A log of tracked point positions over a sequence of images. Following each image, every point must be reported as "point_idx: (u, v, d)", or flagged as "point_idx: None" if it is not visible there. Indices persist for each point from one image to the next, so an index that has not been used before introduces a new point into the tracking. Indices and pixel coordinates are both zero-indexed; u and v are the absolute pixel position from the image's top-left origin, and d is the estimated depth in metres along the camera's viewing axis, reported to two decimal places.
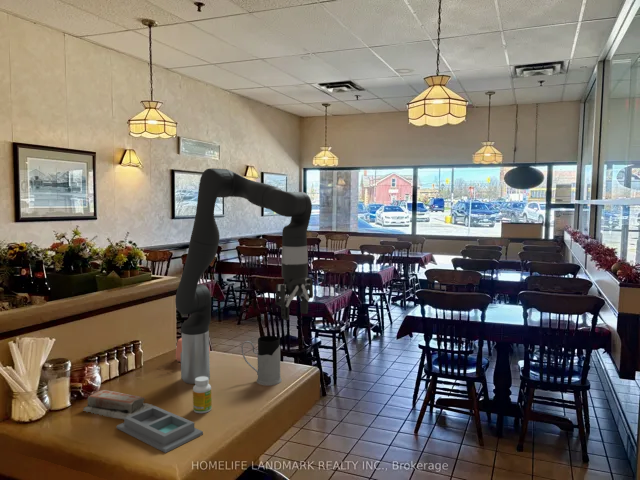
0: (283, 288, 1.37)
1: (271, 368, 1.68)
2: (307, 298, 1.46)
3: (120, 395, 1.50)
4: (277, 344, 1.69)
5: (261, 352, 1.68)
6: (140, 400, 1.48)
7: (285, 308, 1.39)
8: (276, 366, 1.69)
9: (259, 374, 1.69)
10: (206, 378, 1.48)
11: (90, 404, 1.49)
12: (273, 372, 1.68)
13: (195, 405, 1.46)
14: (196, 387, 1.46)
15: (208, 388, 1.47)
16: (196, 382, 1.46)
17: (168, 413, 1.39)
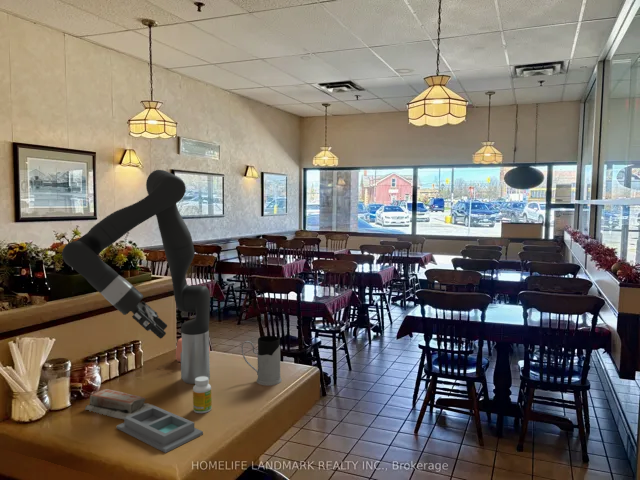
0: None
1: (271, 368, 1.68)
2: None
3: (122, 394, 1.50)
4: (277, 344, 1.69)
5: (261, 352, 1.68)
6: (140, 400, 1.48)
7: None
8: (276, 366, 1.69)
9: (259, 374, 1.69)
10: (206, 378, 1.48)
11: (92, 403, 1.49)
12: (273, 372, 1.68)
13: (195, 405, 1.46)
14: (196, 387, 1.46)
15: (208, 388, 1.47)
16: (196, 382, 1.46)
17: (168, 413, 1.39)
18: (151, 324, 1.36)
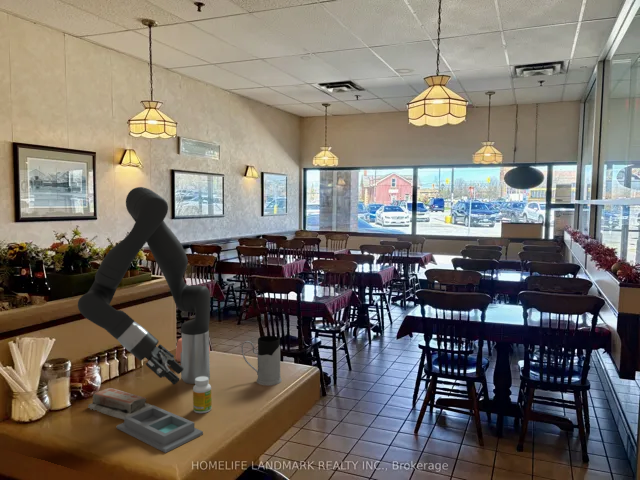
0: None
1: (271, 368, 1.68)
2: None
3: (123, 394, 1.50)
4: (277, 344, 1.69)
5: (261, 352, 1.68)
6: (141, 400, 1.47)
7: None
8: (276, 366, 1.69)
9: (259, 374, 1.69)
10: (206, 378, 1.48)
11: (95, 401, 1.50)
12: (273, 372, 1.68)
13: (195, 405, 1.46)
14: (196, 387, 1.46)
15: (208, 388, 1.47)
16: (196, 382, 1.46)
17: (168, 413, 1.39)
18: (164, 371, 1.39)
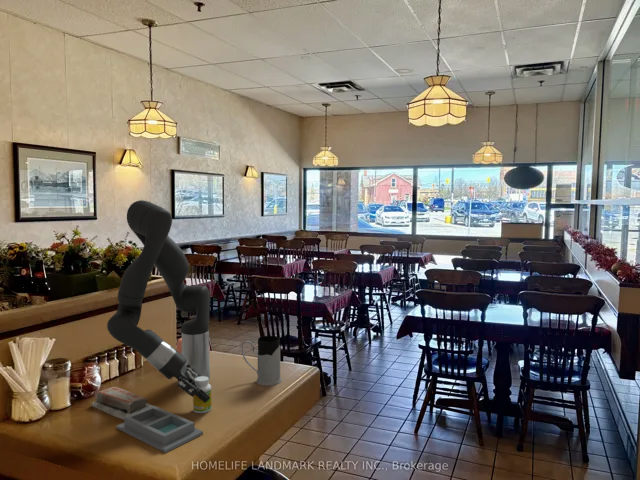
0: None
1: (271, 368, 1.68)
2: None
3: (125, 393, 1.51)
4: (277, 344, 1.69)
5: (261, 352, 1.68)
6: (141, 401, 1.47)
7: None
8: (276, 366, 1.69)
9: (259, 374, 1.69)
10: (206, 378, 1.48)
11: (98, 400, 1.52)
12: (273, 372, 1.68)
13: (195, 405, 1.46)
14: None
15: (208, 388, 1.47)
16: None
17: (168, 413, 1.39)
18: (196, 391, 1.42)
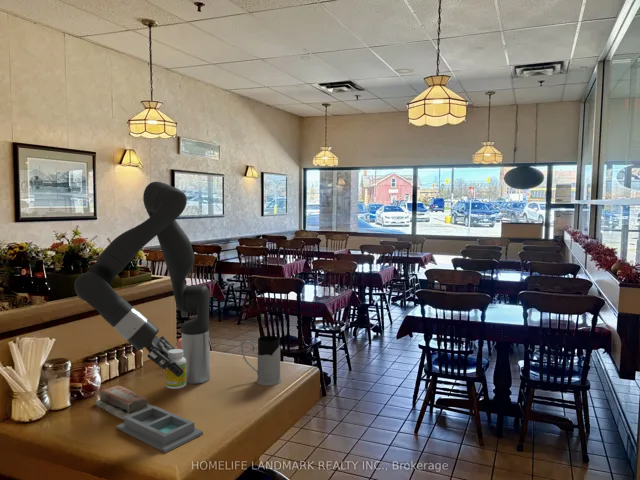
0: None
1: (271, 368, 1.68)
2: None
3: (128, 393, 1.51)
4: (277, 344, 1.69)
5: (261, 352, 1.68)
6: (141, 401, 1.47)
7: None
8: (276, 366, 1.69)
9: (259, 374, 1.69)
10: (180, 350, 1.35)
11: (102, 398, 1.53)
12: (273, 372, 1.68)
13: (168, 380, 1.33)
14: None
15: (182, 361, 1.34)
16: None
17: (168, 413, 1.39)
18: (168, 363, 1.29)
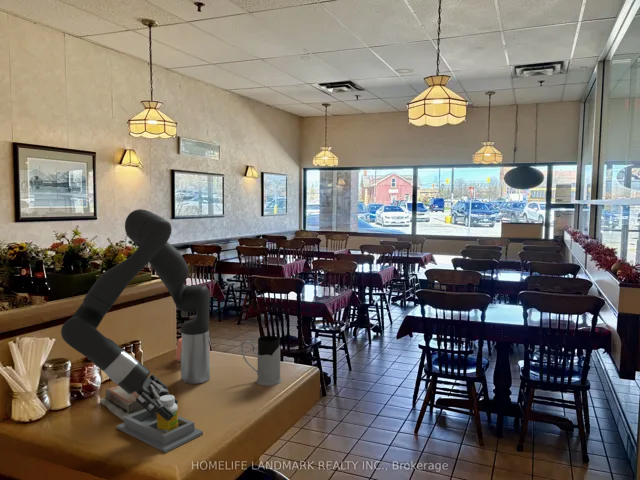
0: None
1: (271, 368, 1.68)
2: None
3: None
4: (277, 344, 1.69)
5: (261, 352, 1.68)
6: None
7: None
8: (276, 366, 1.69)
9: (259, 374, 1.69)
10: (172, 397, 1.32)
11: (107, 397, 1.54)
12: (273, 372, 1.68)
13: (159, 427, 1.30)
14: None
15: (174, 408, 1.31)
16: None
17: None
18: (156, 407, 1.25)
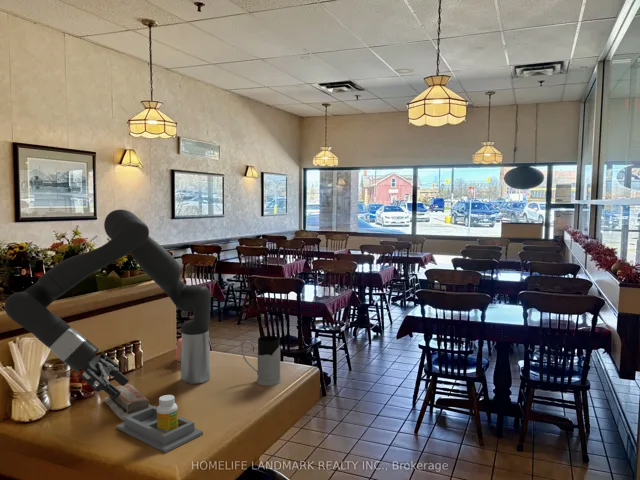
0: None
1: (271, 368, 1.68)
2: None
3: (132, 392, 1.51)
4: (277, 344, 1.69)
5: (261, 352, 1.68)
6: (142, 402, 1.46)
7: None
8: (276, 366, 1.69)
9: (259, 374, 1.69)
10: (172, 397, 1.32)
11: None
12: (273, 372, 1.68)
13: (159, 428, 1.30)
14: (160, 407, 1.30)
15: (174, 408, 1.31)
16: (160, 402, 1.30)
17: None
18: (101, 384, 1.22)
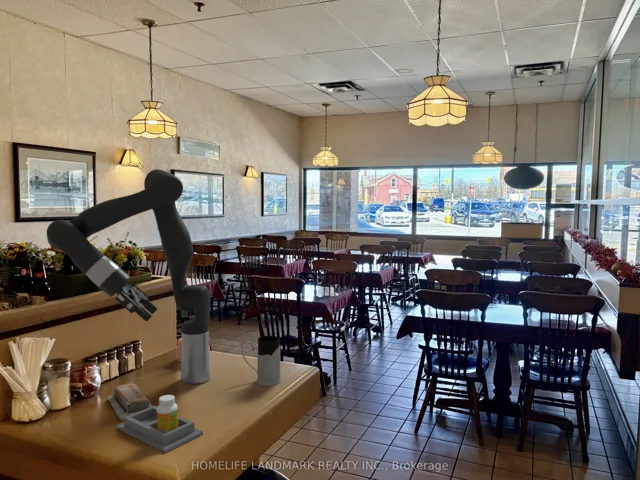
0: None
1: (271, 368, 1.68)
2: None
3: (134, 392, 1.52)
4: (277, 344, 1.69)
5: (261, 352, 1.68)
6: (142, 402, 1.46)
7: None
8: (276, 366, 1.69)
9: (259, 374, 1.69)
10: (172, 397, 1.32)
11: (114, 394, 1.56)
12: (273, 372, 1.68)
13: (159, 427, 1.30)
14: (160, 407, 1.30)
15: (174, 408, 1.31)
16: (160, 402, 1.30)
17: None
18: (135, 306, 1.32)
